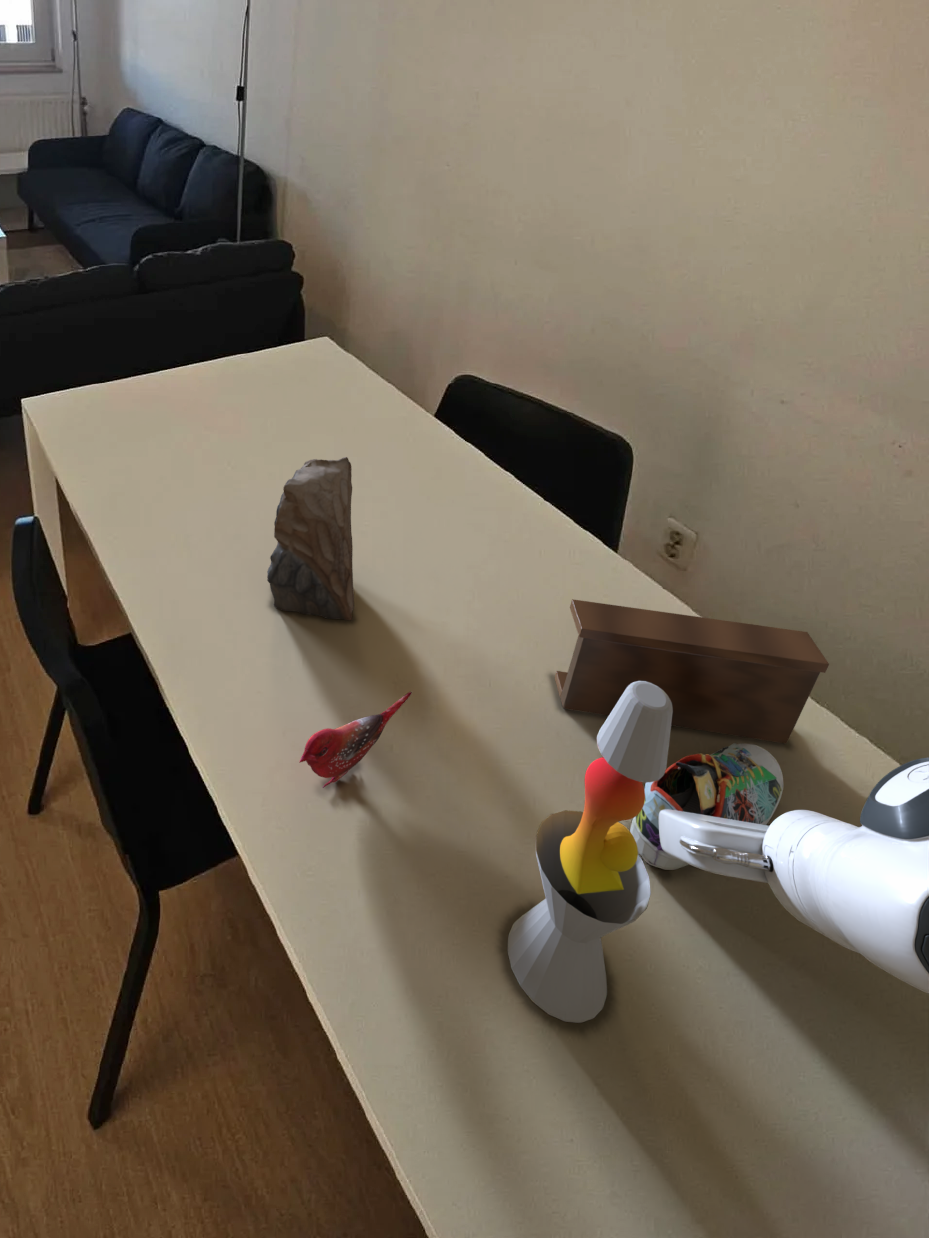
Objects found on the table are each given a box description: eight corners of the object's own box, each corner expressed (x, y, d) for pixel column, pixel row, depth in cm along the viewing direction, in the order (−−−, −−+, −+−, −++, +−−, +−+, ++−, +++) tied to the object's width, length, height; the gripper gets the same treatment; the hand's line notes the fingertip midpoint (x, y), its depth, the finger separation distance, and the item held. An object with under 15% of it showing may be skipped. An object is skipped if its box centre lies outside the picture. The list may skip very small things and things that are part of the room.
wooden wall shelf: (772, 710, 96) (807, 631, 91) (791, 744, 92) (829, 664, 87) (550, 676, 100) (571, 598, 95) (558, 708, 96) (581, 628, 90)
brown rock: (264, 610, 109) (271, 496, 101) (273, 550, 120) (281, 444, 112) (352, 623, 107) (367, 508, 99) (354, 561, 119) (367, 454, 111)
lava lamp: (532, 1030, 66) (628, 756, 52) (489, 913, 74) (563, 649, 60) (630, 1019, 67) (750, 747, 53) (577, 905, 75) (669, 643, 61)
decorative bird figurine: (286, 799, 84) (291, 737, 80) (397, 718, 93) (406, 659, 89) (303, 821, 82) (309, 758, 78) (414, 736, 91) (425, 676, 87)
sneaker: (798, 804, 85) (828, 745, 81) (676, 898, 76) (703, 837, 72) (732, 747, 91) (756, 690, 87) (611, 829, 82) (632, 769, 78)
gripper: (701, 896, 64) (633, 851, 77) (966, 943, 62) (851, 889, 75) (694, 810, 67) (629, 780, 79) (950, 852, 64) (840, 814, 77)
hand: (738, 833), depth 77 cm, fingers closed
